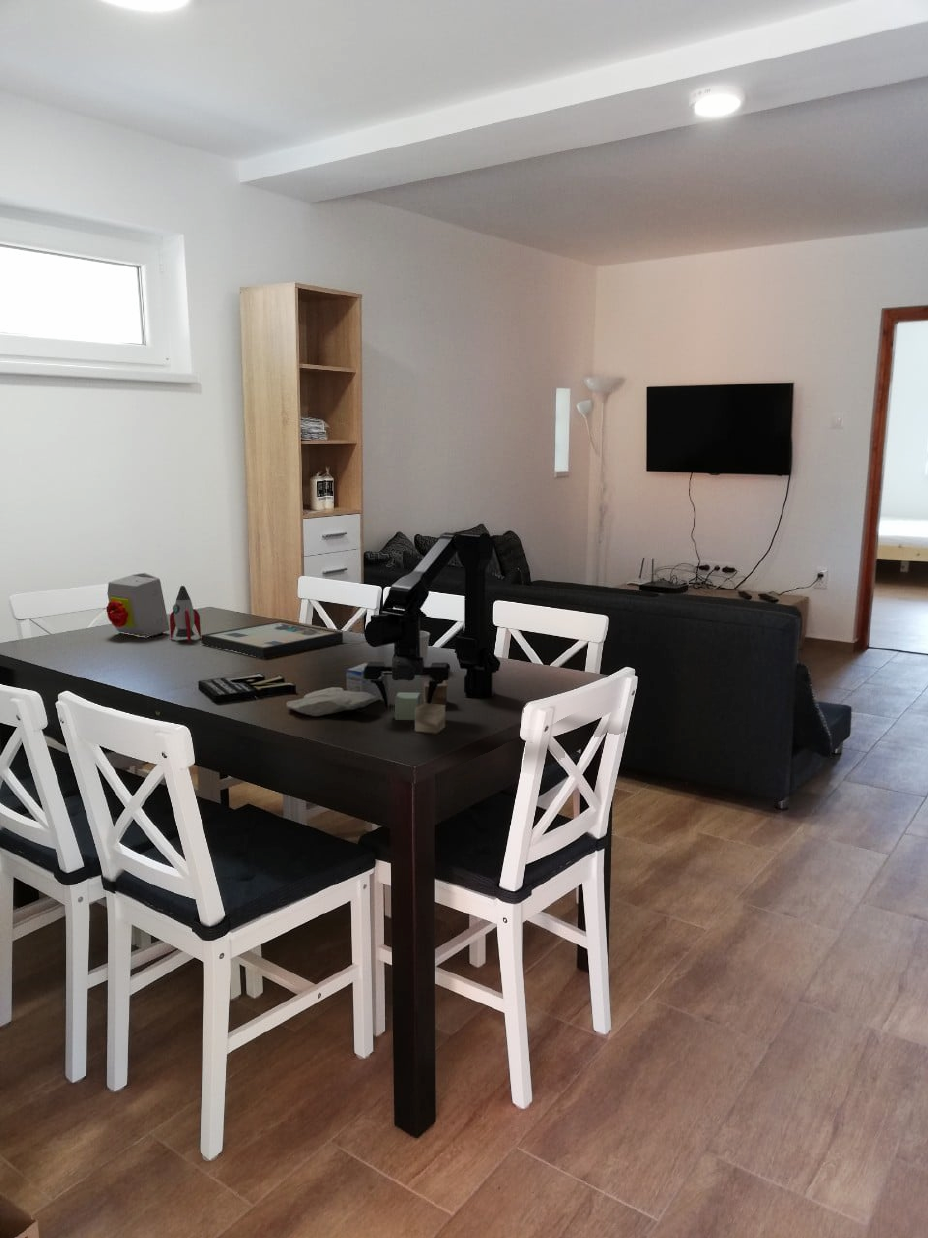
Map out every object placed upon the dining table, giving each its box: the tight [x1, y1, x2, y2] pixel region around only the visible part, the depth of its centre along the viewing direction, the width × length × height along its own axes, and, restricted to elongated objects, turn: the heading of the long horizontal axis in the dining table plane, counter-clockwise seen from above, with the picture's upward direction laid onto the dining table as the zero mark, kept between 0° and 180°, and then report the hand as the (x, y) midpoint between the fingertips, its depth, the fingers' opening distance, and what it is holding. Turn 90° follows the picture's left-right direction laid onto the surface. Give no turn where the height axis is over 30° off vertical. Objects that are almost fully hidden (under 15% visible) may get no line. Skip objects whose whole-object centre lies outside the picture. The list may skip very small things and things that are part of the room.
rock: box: [286, 687, 376, 717], centre depth 215 cm, size 21×5×15 cm
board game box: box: [201, 620, 344, 659], centre depth 289 cm, size 30×4×30 cm
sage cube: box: [394, 691, 421, 721], centre depth 210 cm, size 5×5×5 cm
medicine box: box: [346, 662, 381, 708], centre depth 222 cm, size 8×4×9 cm, turn 154°
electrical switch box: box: [106, 572, 170, 637], centre depth 300 cm, size 15×15×20 cm
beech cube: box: [414, 702, 446, 734], centre depth 201 cm, size 5×5×5 cm
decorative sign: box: [197, 672, 297, 705], centre depth 233 cm, size 17×2×20 cm
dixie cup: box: [420, 630, 431, 667], centre depth 254 cm, size 8×8×10 cm
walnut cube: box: [422, 680, 448, 707], centre depth 221 cm, size 5×5×5 cm
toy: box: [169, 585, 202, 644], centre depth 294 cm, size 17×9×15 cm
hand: (407, 708), depth 210 cm, fingers open, 9 cm apart
